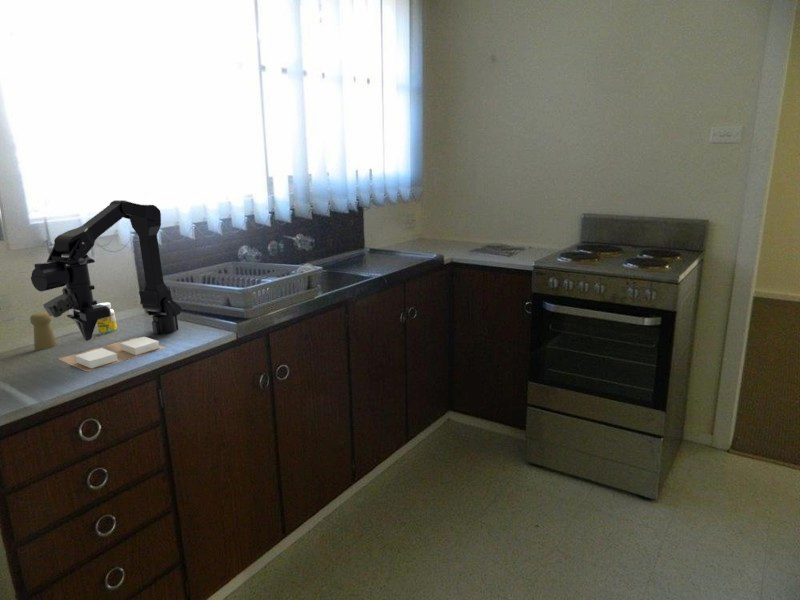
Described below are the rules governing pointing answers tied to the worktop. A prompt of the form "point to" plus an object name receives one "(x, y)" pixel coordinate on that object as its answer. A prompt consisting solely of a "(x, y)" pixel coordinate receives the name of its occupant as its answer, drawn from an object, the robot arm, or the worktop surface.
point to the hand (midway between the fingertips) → (87, 340)
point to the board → (112, 347)
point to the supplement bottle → (107, 321)
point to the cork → (43, 331)
